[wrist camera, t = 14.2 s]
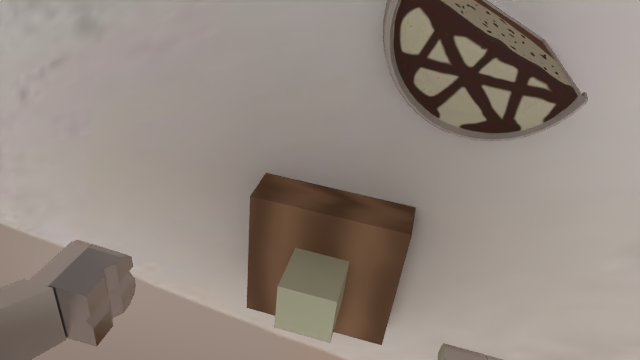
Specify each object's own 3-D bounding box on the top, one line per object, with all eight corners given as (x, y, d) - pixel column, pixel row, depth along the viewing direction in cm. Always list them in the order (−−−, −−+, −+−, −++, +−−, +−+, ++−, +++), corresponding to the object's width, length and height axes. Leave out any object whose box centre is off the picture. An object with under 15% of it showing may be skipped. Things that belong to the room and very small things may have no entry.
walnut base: (260, 280, 52) (246, 307, 49) (266, 173, 45) (250, 196, 41) (386, 314, 50) (381, 345, 47) (415, 207, 43) (411, 235, 39)
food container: (365, 29, 36) (336, 73, 27) (414, -50, 32) (396, -26, 24) (500, 118, 37) (511, 187, 28) (562, 51, 33) (595, 107, 25)
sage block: (291, 287, 46) (274, 327, 42) (295, 247, 43) (277, 286, 39) (342, 300, 45) (329, 342, 41) (349, 261, 42) (337, 302, 38)
